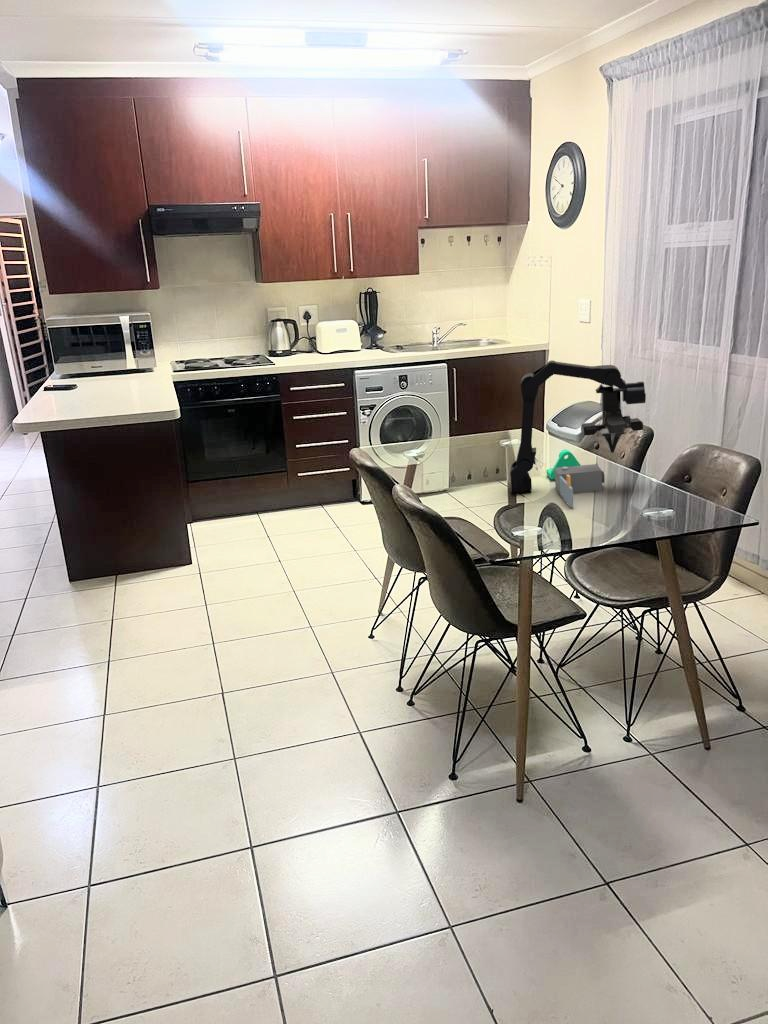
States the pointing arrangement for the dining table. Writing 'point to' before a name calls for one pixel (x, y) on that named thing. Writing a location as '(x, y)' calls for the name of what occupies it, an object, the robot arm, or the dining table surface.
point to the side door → (566, 489)
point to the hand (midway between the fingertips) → (612, 452)
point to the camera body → (582, 477)
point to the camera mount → (563, 462)
